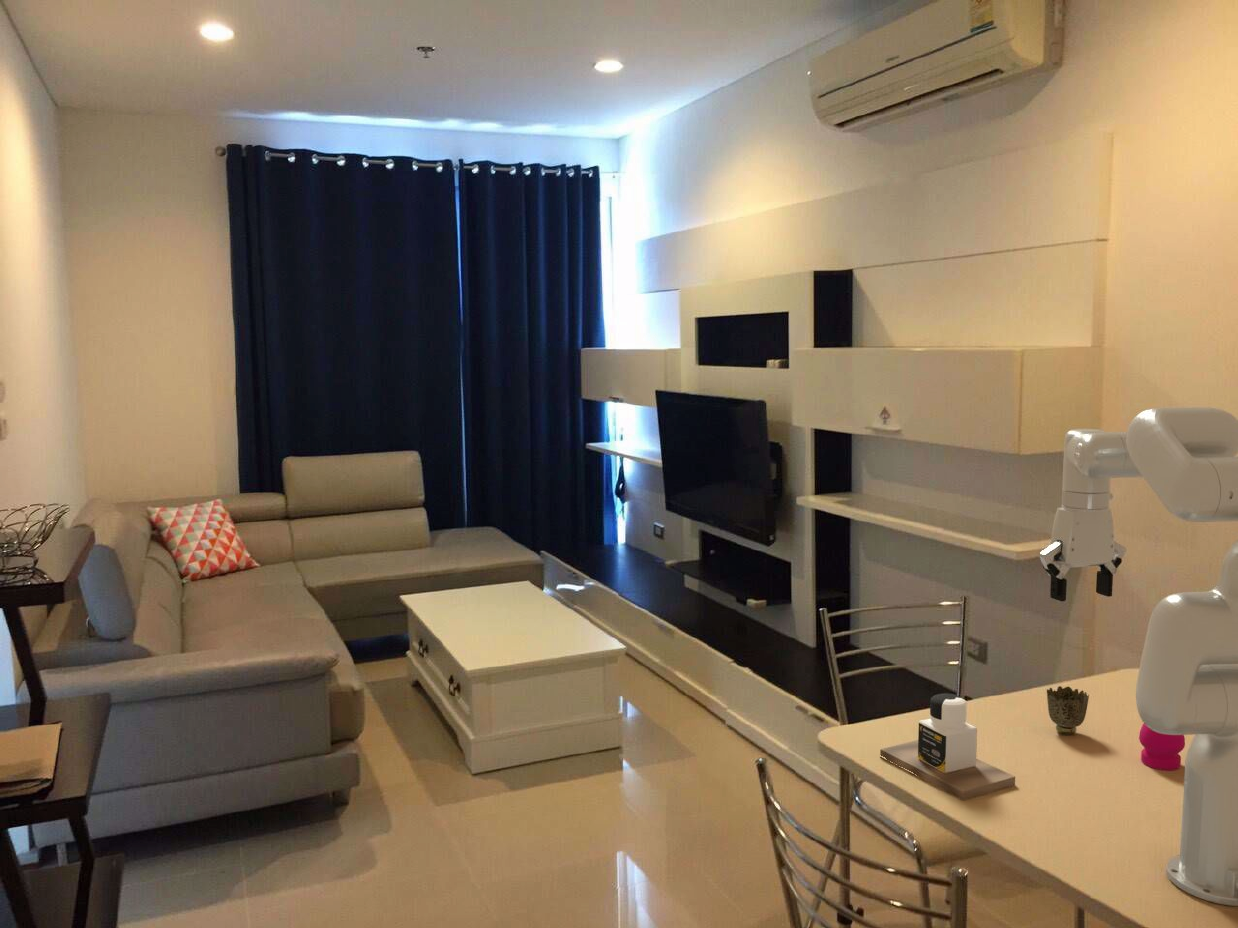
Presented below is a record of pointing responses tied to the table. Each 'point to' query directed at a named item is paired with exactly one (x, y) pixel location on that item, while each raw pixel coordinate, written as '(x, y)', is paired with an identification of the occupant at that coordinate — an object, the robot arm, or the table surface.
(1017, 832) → the table surface
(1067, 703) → the cup
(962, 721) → the medicine bottle
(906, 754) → the walnut board
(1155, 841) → the table surface
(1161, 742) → the pepper mill
